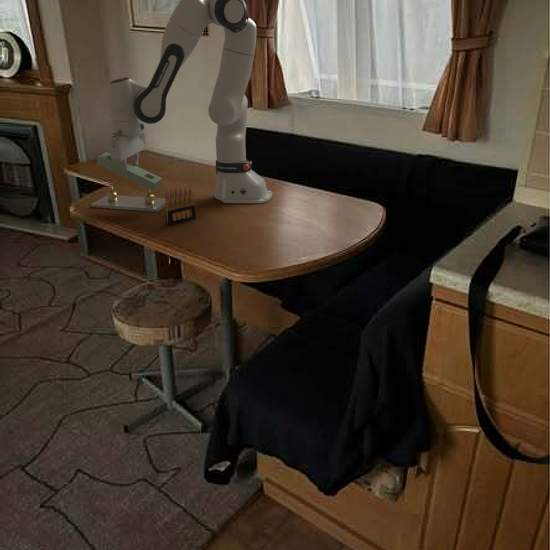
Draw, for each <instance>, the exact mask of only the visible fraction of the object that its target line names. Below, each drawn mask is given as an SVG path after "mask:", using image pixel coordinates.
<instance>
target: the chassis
mask: <svg viewBox="0 0 550 550" xmlns="http://www.w3.org/2000/svg"><path fill="white" fill-rule="evenodd" d="M108 188H109V191H107V192H106V195H104V196H103V197H102V198H100V199H97V200H96V201H94V202H93V203H91V207H92V206H96V207H102V208H101V209H107V208H109V209H108V210H120V211H121V210H122V211H135V212H149V213H158V212H159V211H161V210H162V209H163V208H166V206H165V198H161V197H160V198H159V197H155V194H154V193H152V191H151V190H150V189H148V188H146V193H145V194H144V195H143V196H133V195H131V196H130V195H129V196H128V195H118V192H117V191H115V189H114V185H109V187H108ZM169 200H170V198H169Z"/></svg>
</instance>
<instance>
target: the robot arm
mask: <svg viewBox="0 0 550 550" xmlns="http://www.w3.org/2000/svg"><path fill="white" fill-rule="evenodd" d="M212 23H213V24H214V25H217V26H218V27H219V26H220V27H222V28H223V30H224V41H223V47H222V52H221V58H220V65H219V70H218V74H217V77H216V82H215V84H214V87H213V92H212V95H211V98H210V99H211V100H210V103H209V105H208V116H209V118H210V120H211V121H212V122H213V123H214V124H215V125H217V129H216V136H215V151H216V160H215V172H216V185H215V186H216V187H215V192H214V198H215V199H217V200H219V201H221V202H222V203H223V204H265V203H266V202H269V201H270V200H271V199H272V198H273V191H271V190H270V189H269V190H268V189H267V183H266V181H265V179H264V178H263V177H262V176H261V175H259V174H258V173H257V172H255V171H254V170H252V164H253V163H252V160H251V161H249V160H248V159H247V153H246V152H247V151H246V134H247V133H246V132H247V125H248V124H247V123H248V108H249V101H248V98H247V96H246V95H245V94H246V91H247V88H248V85H249V81H250V79H251V74H252V70H253V64H254V58H255V54H256V53H255V52H256V48H257V47H256V45H257V24H256V23H255V21H254V20H253V19H251V18H250V17H249V13H248V8H247V4H246V2H245V0H180V1H179V3H178V4H177V5H176V6H175V8H174V10H173V12H172V13H171V15H170V17H169V19H168V22H167V24H166V26H165V29H164V32H163V36H162V39H161V50H160V51H161V53H160V59H159V62H158V65H157V66H156V69H155V71H154V74H153V75H152V78H151V80H150V82H149V84H148V86H146V85H145V84H141V83H139V82H137V81H135V80H133V79H132V78H130V77H127V76H126V77H120V78H117V79H113V80H112V81H111V82H110V83H109V84H108V87H107V96H108V97H107V99H108V104H109V109H110V111H111V117H110V119H111V129H112V133H111V134H112V135H111V138H110V139H109V153H110V157H111V160H112V161H119V162H120V164H121V166H122V170H123V171H128V170H129V165H127V163H126V161H127V160H128V158H131V157H132V160H131V164H133V165H135V166H137V167H138V166H139V157H140V152H142V151H144V150H145V149H146V134H145V129H146V128H145V127H146V126H145V124H149V125H150V124H151V125H152V124H157V123H159V122H160V121H161V120H162V119H163V118H164V117H165V114H166V112H167V111H166V109H167V108H166V107H167V98H168V97H167V96H168V95H169V92H170V90H171V88H172V85H173V83H174V81H175V78H177V77H176V76H177V74H178V72H179V70H180V69H181V67H183V65H184V63H186V61H187V60H188V59H189V57H190V56H191V54H192V53H193V52H194V50H195V49H196V47H197V45H198V44H199V41H200V40H201V37H202V35H203V32H204V31H205V29H206V28H207V27H208V26H209V25H210V24H212ZM139 120H140V121H139ZM127 162H128V161H127Z"/></svg>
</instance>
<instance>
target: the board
mask: <svg viewBox="0 0 550 550" xmlns="http://www.w3.org/2000/svg"><path fill="white" fill-rule="evenodd" d="M96 159H97V160H96V165H97V166H100V167H101V168H103V169H106V170H108V171H110V172H112V173H114V174H116V175H119V176H121V177H123V178H125V179H127V180H128V181H130V182H131V181H132V182H133V183H136V184H138V185H140V186H141V187H144V188H146V189H147V188H148V189H150V191H151V192H153V191H155V190H156V189H157V188H159V186H160V187H161V183H162V180H163V178H162V177H160V176H158V175H156V174H154V173H152V172H149V171H148V170H146V169H144V168H141V167H140V166H138V165H137V166H135V165H133V164H132V162H128V161H126V163H127V165H129V170H128V171H123V170H122V166H121V164H120V162H119V161H112V160H111V157H110V152H107V151H106V152H104V153H102V154H101V155H100V154H99V155H98V156H97V158H96Z"/></svg>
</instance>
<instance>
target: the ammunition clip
mask: <svg viewBox="0 0 550 550" xmlns="http://www.w3.org/2000/svg"><path fill="white" fill-rule="evenodd" d="M169 191H170V192H169ZM169 191H168V190H167V189H166V190H165V197H164V199H165V224H166V225H167V226H169V227H170V226H173V225H177V224H181V223H185V222H190V221H194V220H197V215H196V208H195V207H196V206H195V201H194V194H193V188H192V185H189V187H188V189H187V186H186V185H185V186H184V189H182V187H181V186H180V187H179V190H178V188H174V192H173V189H172V188H170V190H169ZM178 191H179V192H178ZM169 199H170V200H169Z"/></svg>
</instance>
